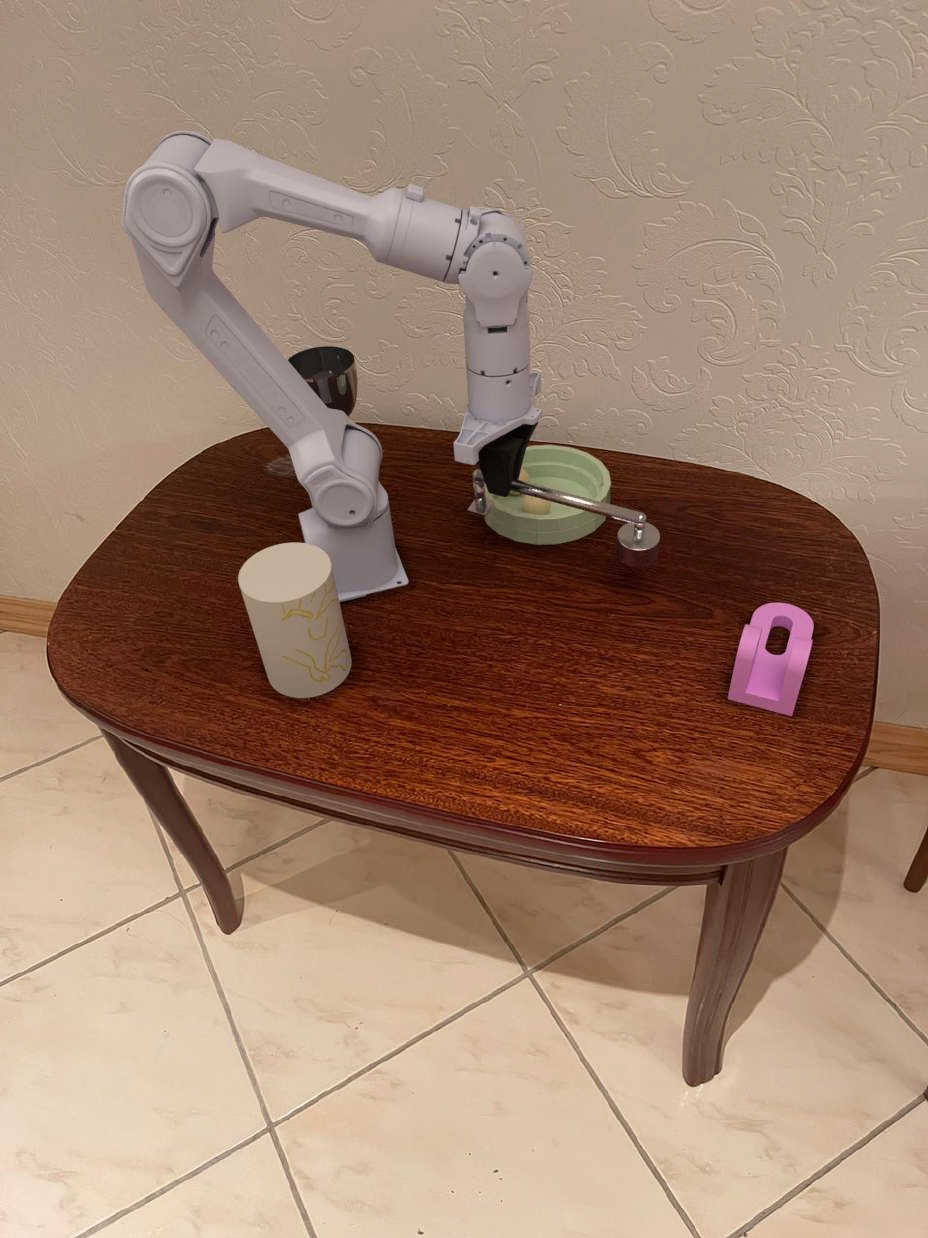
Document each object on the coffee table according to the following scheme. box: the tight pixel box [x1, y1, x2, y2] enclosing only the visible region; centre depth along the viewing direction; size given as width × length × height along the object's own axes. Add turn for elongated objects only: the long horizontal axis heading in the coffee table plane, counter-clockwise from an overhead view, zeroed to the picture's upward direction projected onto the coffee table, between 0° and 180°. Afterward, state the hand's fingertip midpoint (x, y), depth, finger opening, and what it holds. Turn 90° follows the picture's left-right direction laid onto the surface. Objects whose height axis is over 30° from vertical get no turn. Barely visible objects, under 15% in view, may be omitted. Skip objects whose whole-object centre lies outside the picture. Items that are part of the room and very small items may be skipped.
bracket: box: [727, 602, 815, 717], centre depth 80 cm, size 13×6×7 cm, turn 156°
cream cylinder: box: [237, 542, 353, 699], centre depth 82 cm, size 8×8×12 cm
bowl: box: [483, 444, 612, 546], centre depth 101 cm, size 15×15×4 cm
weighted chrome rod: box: [467, 468, 661, 569], centre depth 87 cm, size 20×4×5 cm, turn 62°
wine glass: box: [287, 345, 359, 417], centre depth 105 cm, size 8×8×15 cm
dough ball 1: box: [510, 468, 530, 495], centre depth 103 cm, size 3×3×3 cm
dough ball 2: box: [523, 495, 551, 515], centre depth 99 cm, size 3×3×3 cm
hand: (502, 488), depth 88 cm, fingers closed on weighted chrome rod
